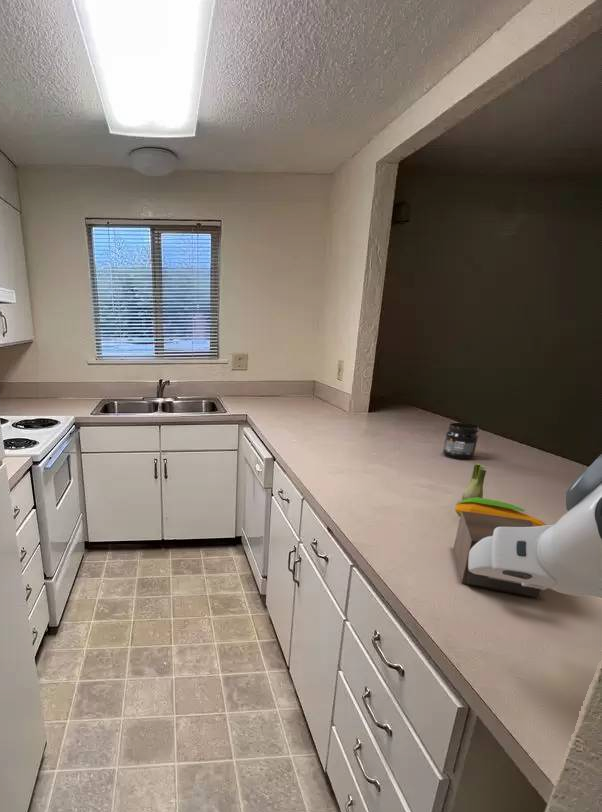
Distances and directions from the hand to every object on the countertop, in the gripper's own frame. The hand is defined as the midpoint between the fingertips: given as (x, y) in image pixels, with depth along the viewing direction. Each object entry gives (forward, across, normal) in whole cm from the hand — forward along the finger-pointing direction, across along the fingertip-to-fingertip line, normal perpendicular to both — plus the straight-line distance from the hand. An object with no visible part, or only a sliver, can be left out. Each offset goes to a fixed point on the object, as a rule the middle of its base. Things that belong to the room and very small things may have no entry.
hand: (532, 583), depth 69 cm
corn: (+39, -5, -24) cm, 46 cm away
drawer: (+19, 0, -6) cm, 20 cm away
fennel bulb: (+50, -1, -34) cm, 61 cm away
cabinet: (+23, 0, -8) cm, 24 cm away
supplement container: (+86, -3, -70) cm, 111 cm away
